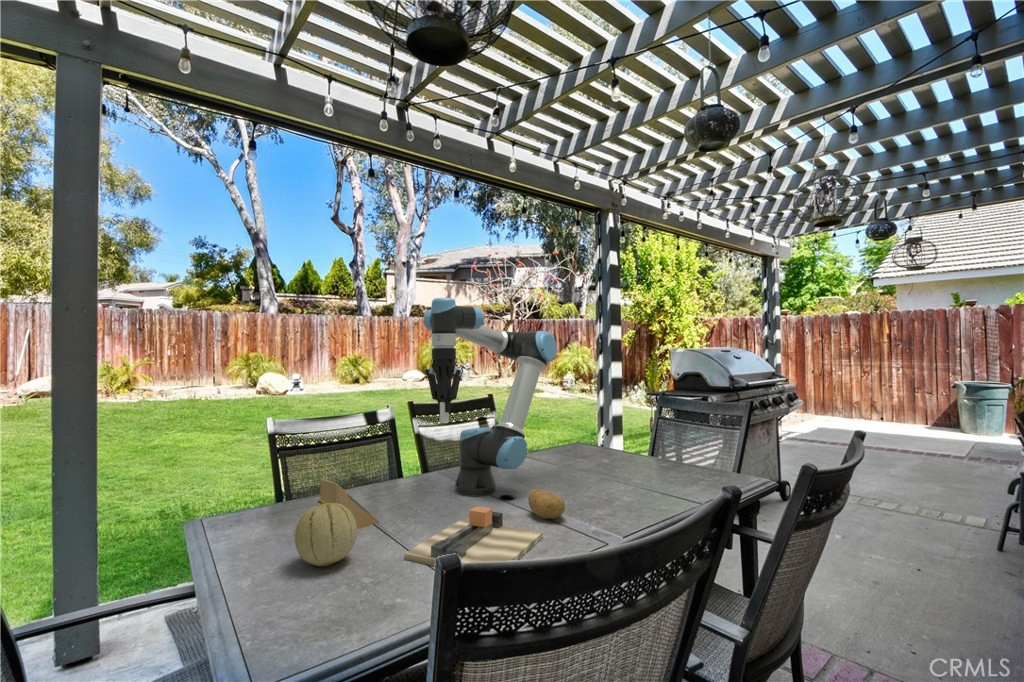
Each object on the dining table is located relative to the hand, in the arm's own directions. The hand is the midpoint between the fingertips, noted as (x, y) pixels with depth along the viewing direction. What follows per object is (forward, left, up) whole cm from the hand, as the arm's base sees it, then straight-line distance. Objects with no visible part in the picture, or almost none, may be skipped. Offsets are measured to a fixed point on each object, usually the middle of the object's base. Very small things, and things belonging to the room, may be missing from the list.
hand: (444, 422), depth 154 cm
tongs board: (+16, +21, -30) cm, 40 cm away
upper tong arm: (+17, +20, -28) cm, 38 cm away
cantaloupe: (+40, -8, -30) cm, 51 cm away
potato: (-14, +29, -30) cm, 44 cm away
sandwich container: (+17, -22, -30) cm, 41 cm away
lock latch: (+10, +19, -26) cm, 33 cm away
